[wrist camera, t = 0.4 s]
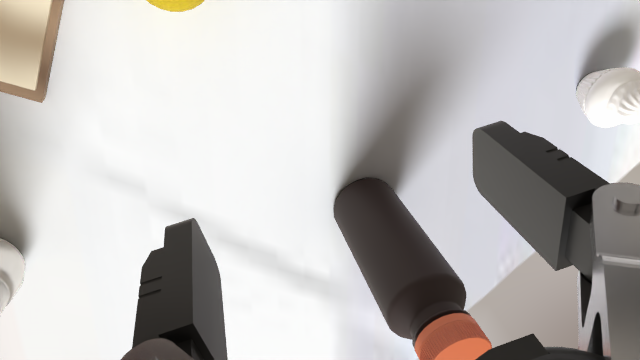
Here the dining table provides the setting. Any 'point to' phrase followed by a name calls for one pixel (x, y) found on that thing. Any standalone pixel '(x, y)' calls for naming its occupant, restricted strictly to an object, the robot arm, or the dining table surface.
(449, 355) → the vinegar
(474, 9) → the dining table surface
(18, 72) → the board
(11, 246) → the plastic bottle
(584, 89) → the muffin
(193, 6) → the lemon
